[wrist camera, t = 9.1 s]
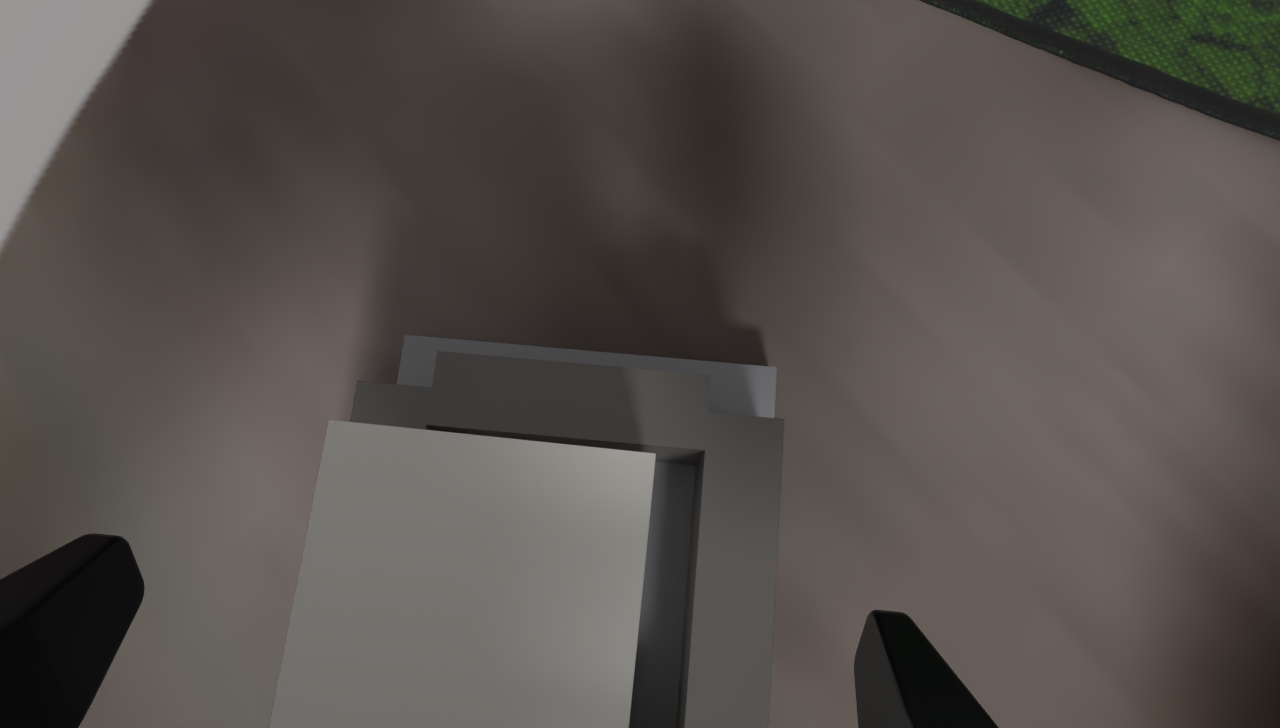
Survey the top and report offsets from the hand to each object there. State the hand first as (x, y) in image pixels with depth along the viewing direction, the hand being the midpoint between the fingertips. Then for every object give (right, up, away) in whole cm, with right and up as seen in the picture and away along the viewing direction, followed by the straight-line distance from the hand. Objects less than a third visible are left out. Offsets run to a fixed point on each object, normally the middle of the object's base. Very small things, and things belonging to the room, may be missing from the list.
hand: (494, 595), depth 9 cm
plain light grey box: (0, -3, +8) cm, 8 cm away
